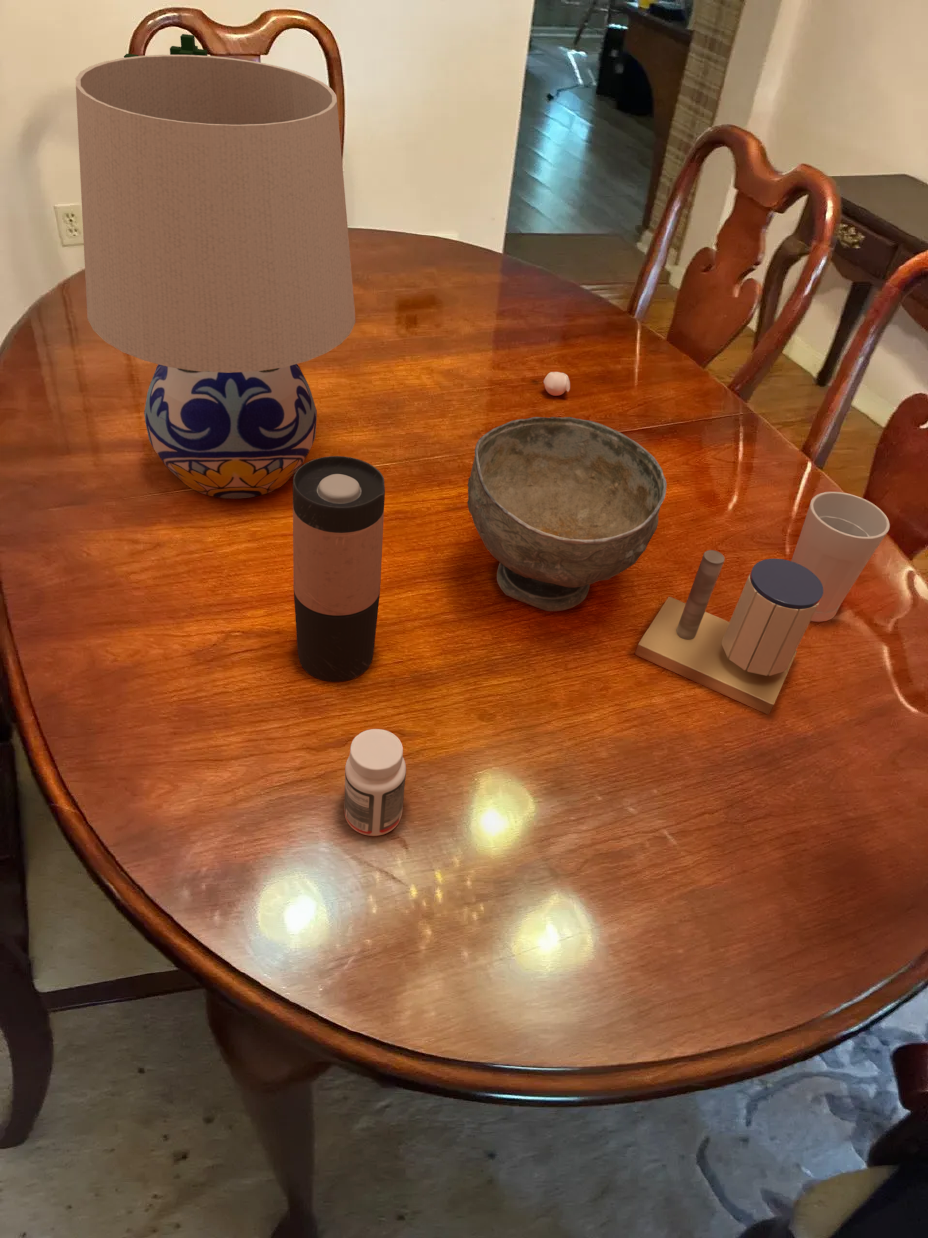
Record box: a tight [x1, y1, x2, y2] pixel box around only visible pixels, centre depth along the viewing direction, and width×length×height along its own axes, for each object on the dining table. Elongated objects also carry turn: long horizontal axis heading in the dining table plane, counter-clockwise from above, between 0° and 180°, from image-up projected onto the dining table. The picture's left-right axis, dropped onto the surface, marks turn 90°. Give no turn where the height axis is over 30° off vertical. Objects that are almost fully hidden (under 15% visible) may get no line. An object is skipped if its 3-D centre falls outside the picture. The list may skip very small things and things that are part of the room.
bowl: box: [466, 416, 668, 612], centre depth 94 cm, size 20×19×15 cm
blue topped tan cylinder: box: [722, 558, 823, 676], centre depth 88 cm, size 7×7×9 cm
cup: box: [790, 491, 891, 623], centre depth 98 cm, size 8×8×12 cm
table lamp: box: [75, 54, 356, 500], centre depth 96 cm, size 27×27×40 cm
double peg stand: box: [634, 549, 798, 716], centre depth 90 cm, size 14×9×12 cm, turn 60°
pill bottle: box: [343, 728, 407, 837], centre depth 73 cm, size 5×5×8 cm
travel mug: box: [292, 455, 386, 683], centre depth 81 cm, size 8×8×20 cm
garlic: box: [543, 371, 571, 397], centre depth 130 cm, size 5×3×5 cm
